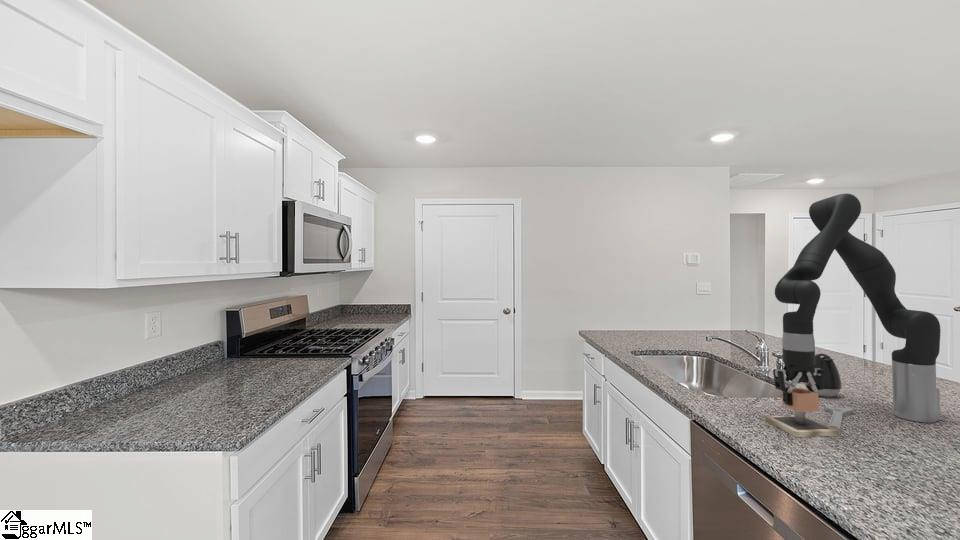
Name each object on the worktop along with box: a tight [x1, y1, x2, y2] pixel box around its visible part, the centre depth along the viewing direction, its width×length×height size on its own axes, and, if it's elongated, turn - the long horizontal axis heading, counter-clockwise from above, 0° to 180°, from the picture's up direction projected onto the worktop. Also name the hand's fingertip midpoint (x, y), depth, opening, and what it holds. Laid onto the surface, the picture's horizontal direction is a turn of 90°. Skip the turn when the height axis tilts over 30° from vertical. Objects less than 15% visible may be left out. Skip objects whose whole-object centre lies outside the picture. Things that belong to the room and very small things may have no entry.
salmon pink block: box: [781, 387, 820, 413], centre depth 117 cm, size 6×6×5 cm
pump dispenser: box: [812, 353, 843, 398], centre depth 145 cm, size 10×10×15 cm
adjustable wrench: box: [824, 404, 854, 433], centre depth 123 cm, size 25×6×2 cm, turn 130°
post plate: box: [764, 393, 840, 438], centre depth 117 cm, size 12×12×10 cm
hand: (799, 404), depth 117 cm, fingers open, 6 cm apart
